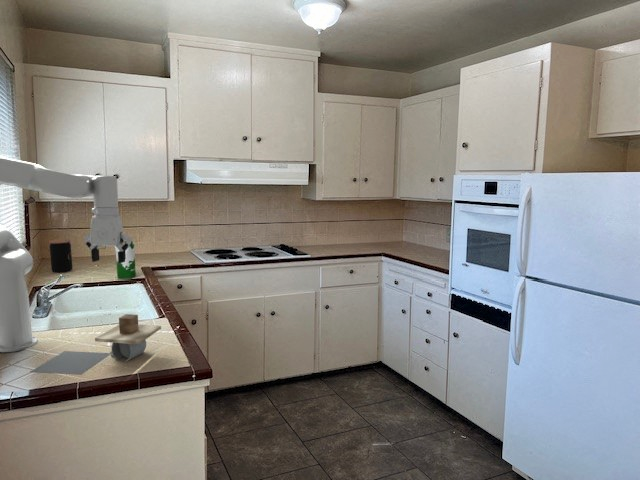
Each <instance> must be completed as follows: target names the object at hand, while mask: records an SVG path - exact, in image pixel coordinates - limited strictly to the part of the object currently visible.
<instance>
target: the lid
mask: <svg viewBox="0 0 640 480" xmlns="http://www.w3.org/2000/svg"><path fill="white" fill-rule="evenodd" d="M160 330H162V325H151V324H139V315H138V314H130V313H128V314H127V313H125V314H123V315H122V316H120V317H118V324H117V325H116V326H114V327H112V328H111V329H109V330H107V331H105V332H104V333H102V334H100V335H98V336H96V337H95V338H94V342H99V343H101V342H102V343H112V344H113V343H126V344H140V343H141V342H143V341H144V340H147V339H148V338H151V336H153V335H154V334H156V333H157V332H159V331H160Z"/></svg>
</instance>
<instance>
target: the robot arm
mask: <svg viewBox="0 0 640 480" xmlns="http://www.w3.org/2000/svg"><path fill="white" fill-rule="evenodd" d="M1 185H5V186H12V187H17V188H20V189H21V188H22V189H26V190H31V191H36V192H41V193H45V194H50V195H55V196H60V197H66V198H71V199H82V198H86V197H93V207H92V208H91V209H90V211H91V213H93V214H94V215H92V216H91V221H90V229H89V232H90V233H88V234H87V235H84V236H83V240H84V242H85V244H86V246H87V247H88V249H89V251H91V252H90V253H91V255H90V256H91V262H92V263H93V262H94V263H95V262H98V261H100V249H99V247H115V246H116V247H117V248H118V249H119V252H118V263H123V262H125V259H126V254H125V250H127V248H128V247H129V246H130V244H131V241H132V242H133V238H132V237H130V236H128V235H127V234H125V232H124V227H123V222H122V218H121V217H122V216H120V215H119V199H118V198H119V196H118V195H119V193H118V179H117V177H116V176H114V175H86V174H74V173H73V174H72V173H68V172H62V171H58V170H53V169H48V168H45V167H43V166H42V165H40V164H38V163H37V164H36V163H33V162H29V161H23V160H18V159H13V158H9V157H7V156H3V155H0V186H1ZM125 241H126V243H125ZM33 258H34V257H32V254H31V253H30V251H28V249H27V248H26V247H25V246H24V245H23V244H22V243H21V242H20V240H19V239H18V238H17V237H16V236H15V235H14V234H13V233H12V232H11V231H10V230H9V229H8V228H6V227H5V226H3V225H1V224H0V353H13V352H19V351H25V350H26V349H28V348H29V347H32V346H34V345H36V344H38V343H39V339H38V337H36V336H33V331H32V330H33V328H32V320H31V319H32V318H31V309H30V308H31V307H30V298H29V291H28V290H29V289H28V285H27V281H26V278H25V275H27V274H28V273H30V271H31V270H32V269H33V266H34V259H33Z"/></svg>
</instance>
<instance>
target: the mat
mask: <svg viewBox="0 0 640 480" xmlns="http://www.w3.org/2000/svg"><path fill="white" fill-rule="evenodd" d="M108 356H111V354H110V352H94V351H93V352H92V351H74V350H73V351H72V350H70V351H68V350H64V351H62V352H61V353H59V354H57V355H56V356H54V357H52V358H51V359H49V360H48V361H45V362H44V363H42V364H41V365H39V366H37V367H35V368H34V369H32V370H30V371H29V373H41V374H58V375H59V374H61V375H63V374H64V375H79V376H80V375H81V376H82V375H83V374H85V373H86V372H87V371H89V370H90V369H91V368H93V367H94V366H96V365H97V364H98V363H100V362H101V361H103V360H104V359H106V358H107V357H108Z"/></svg>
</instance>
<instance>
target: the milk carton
mask: <svg viewBox="0 0 640 480" xmlns="http://www.w3.org/2000/svg"><path fill="white" fill-rule="evenodd" d="M125 243H126V240H124V244H125ZM135 248H136V244H135V243H133V240H132V241H131V244H130V246H129V247H128V248H127V250H125V254H126V259H125V262H123V263H118V252H119V249H118V248H117V247H116V246H114V250H115V259H116V260H115V261H116V273H117V274H116V275H117V276H116V277H117V279H119V280H124V279H125V280H130V279H133V278H135V277H137V273H136V271H137V270H136V256H135V251H136V249H135Z"/></svg>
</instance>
